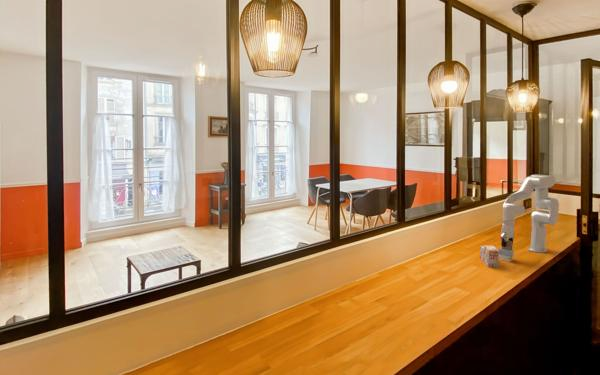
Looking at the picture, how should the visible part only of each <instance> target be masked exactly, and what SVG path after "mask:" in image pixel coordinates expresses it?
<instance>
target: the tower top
mask: <svg viewBox="0 0 600 375" xmlns="http://www.w3.org/2000/svg"><path fill="white" fill-rule="evenodd" d="M498 250H499V254H500V255H504V256H511V255H514V250H515V249H514V248H512V250H509V251H508V250H503V249H502V247H501V248H498Z"/></svg>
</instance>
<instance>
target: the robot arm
mask: <svg viewBox="0 0 600 375" xmlns="http://www.w3.org/2000/svg"><path fill="white" fill-rule="evenodd" d="M555 184H556V178H555V176H553V175H547V174H531V175H529V176H526V177H525V178H524V180H523V182H522V184H521V185H520V187H519V188H518V190H517V191H515V192H514V193H511V194H510V195H509V196H507V197H506V199H505V201H504V202H503V204H502V226H501V230H500V241H501V244H500V246H501V247H502V246H503V247H506V240H509V241H513V242H514V238H515V219H516V215H517V216H518V215H519V216H521V215H523V214H524V213H525V211H526V207H525V206H524V205H523V204H521V203H515V202H518V201H520V200H525V199H528V198H530V197H531V195H532V194H533V192H534V207H535V208H536V209H537V210H533V211H532V212H531V213H530V214H531V215H530V217H531V218H530V219H531V234H530V235H531V237H530V246H529V247H527V249H528V251H531V252H534V253H542V254H544V253H547V252H548V249H547V248H546V246H547V244H546V237H547V227H546V225H550V226H552V225H553V226H554V225H557V223H558V220H559V210H560V203H559V200H558V199H557V198H555V197H551V196H549V188H552V187H554V185H555Z"/></svg>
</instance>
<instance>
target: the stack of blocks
mask: <svg viewBox="0 0 600 375" xmlns="http://www.w3.org/2000/svg"><path fill="white" fill-rule="evenodd" d="M479 258H480V260H481V261H482V262H483V263H484V264H485V266H487V268H492V269H495V268H497V269H498V267H499V249H498V248H497V247H496V246H494V245H480V246H479Z"/></svg>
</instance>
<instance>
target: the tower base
mask: <svg viewBox="0 0 600 375" xmlns="http://www.w3.org/2000/svg"><path fill="white" fill-rule="evenodd" d="M514 256H515V255H514V254H513V255H511V256H504V255H500V254H499V257H498V261H499V260H501V261H504V262H508V263H509V262H511V261H514Z"/></svg>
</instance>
